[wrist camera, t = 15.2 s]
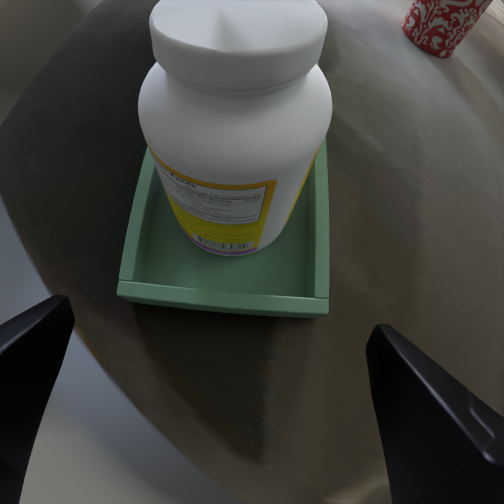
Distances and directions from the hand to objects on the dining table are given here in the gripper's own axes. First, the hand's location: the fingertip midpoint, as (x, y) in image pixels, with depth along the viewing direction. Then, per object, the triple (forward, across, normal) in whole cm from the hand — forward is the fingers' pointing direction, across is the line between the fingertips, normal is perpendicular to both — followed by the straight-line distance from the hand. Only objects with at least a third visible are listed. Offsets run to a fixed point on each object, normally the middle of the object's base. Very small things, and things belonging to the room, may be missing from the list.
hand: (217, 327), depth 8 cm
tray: (+18, 0, -6) cm, 19 cm away
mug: (+32, -21, -20) cm, 43 cm away
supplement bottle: (+11, 0, +1) cm, 11 cm away
